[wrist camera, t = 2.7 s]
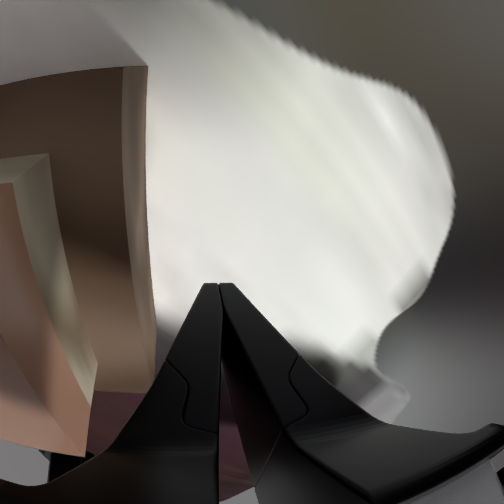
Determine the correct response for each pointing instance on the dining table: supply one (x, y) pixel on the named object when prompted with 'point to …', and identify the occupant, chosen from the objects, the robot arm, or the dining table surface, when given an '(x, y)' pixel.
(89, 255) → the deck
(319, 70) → the dining table surface
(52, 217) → the tile lower
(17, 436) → the tile upper
